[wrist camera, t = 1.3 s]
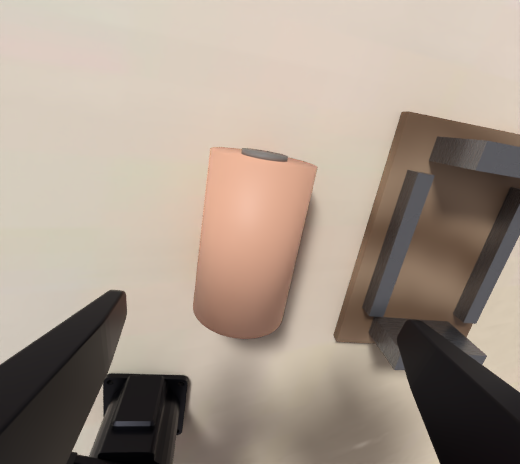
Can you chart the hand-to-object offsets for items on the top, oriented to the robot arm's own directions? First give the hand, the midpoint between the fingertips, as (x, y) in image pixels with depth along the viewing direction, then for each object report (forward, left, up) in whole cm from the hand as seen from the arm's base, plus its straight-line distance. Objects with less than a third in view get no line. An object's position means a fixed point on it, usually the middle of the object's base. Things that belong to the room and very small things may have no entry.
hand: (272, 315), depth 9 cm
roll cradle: (-1, -15, -12) cm, 20 cm away
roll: (-1, 0, -12) cm, 12 cm away
